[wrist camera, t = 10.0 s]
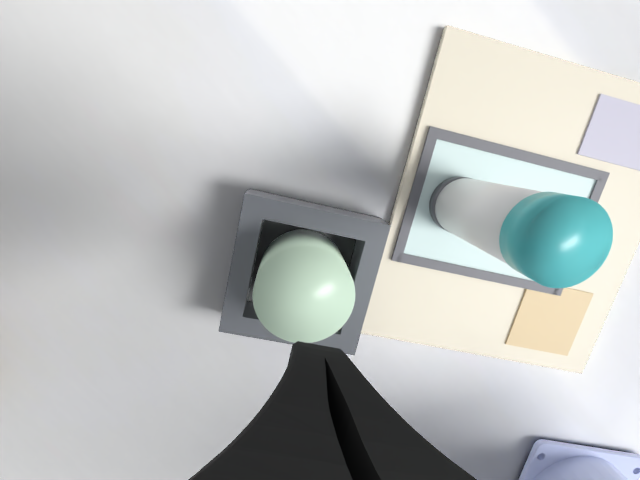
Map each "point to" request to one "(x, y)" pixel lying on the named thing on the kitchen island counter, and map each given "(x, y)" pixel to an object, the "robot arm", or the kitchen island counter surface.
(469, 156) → the sheet
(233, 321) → the button housing
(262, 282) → the button
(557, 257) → the marker
